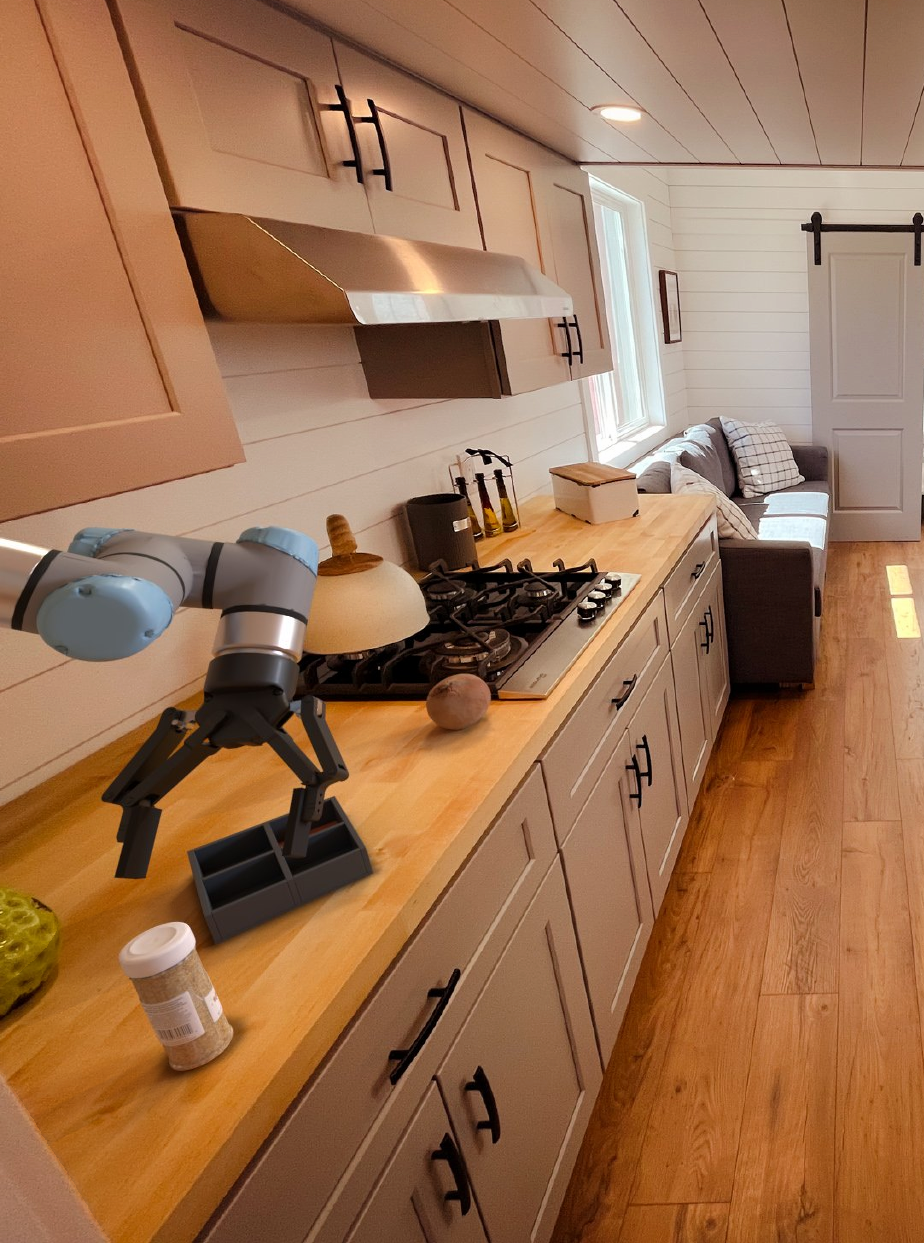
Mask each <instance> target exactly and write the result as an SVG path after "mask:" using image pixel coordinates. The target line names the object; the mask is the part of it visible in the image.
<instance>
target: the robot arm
mask: <svg viewBox="0 0 924 1243" xmlns="http://www.w3.org/2000/svg"><path fill="white" fill-rule="evenodd" d="M319 561H320V548H319V546H318V544H317V543H316V541H315V540H313V539H312V538H311V537H310V536H308V535H307V534H305V533H303V532H301V531H299V530H295V529H292V528H287V527H283V526H276V525H269V526H268V527H264V526H260V525H259V526H253V527H249V528H247V529H245V530H243V531H242V532H241V533H240V535H239V538H238V539H236V541H235V542H227V541H225V542H221V541H212V540H206V539H200V538H199V539H198V538H191V537H183V536H177V535H169V534H162V533H154V532H148V531H140V530H137V529H133V528H126V527H124V528H113V527H101V526H100V527H99V526H89V527H85V528H82V529H80V530H79V531H77V533H76V534H74V536H73V539H72V542H70V543H69V545H68V548H67V550H66V551H64V550H59V549H54V548H52V547H49V546H44V545H40V544H36V543H31V542H28V541H23V540H18V539H15V538H11V537H8V536H7V537H6V536H2V535H0V628H3V629H9V630H14V631H19V632H24V633H29V634H34V635H37V636H40V638H41V639H42V641H43V642H44V643H45V644H46V645H47V646H49V647H50V648H52V649H53V650H54V651H56V652H58V653H60V654H62V655H63V656H65V657H67V658H70V659H73V660H77V661H81V662H82V661H83V662H88V663H90V662H91V663H107V662H108V663H109V662H115V661H120V660H124V659H127V658H130V657H132V656H134V655H137V654H138V653H140V652H142V651H144V650H145V649H146V648H148V647H149V646H150V645H151V644H152V643H153V642H155V640H157V639H159V638H160V637H161V636H162V634H163V633H164V632H165V631H166V630H167V629H169V627H170V625H171V624H172V621H173V619H174V615H175V614H176V612H178V609H179V608H193V609H204V610H221V614H220V617H219V621H218V625H217V629H216V633H215V637H214V640H213V645H212V648H211V655H212V657H213V659H211V660H209V662H208V667H207V671H206V675H205V679H204V684H203V688H202V690H203V701H202V704H201V705H200V706H199V707H198V709H180V708H177V707H175V706H168V707H166V708H164V710H163V711H162V713H161V715H160V718H159V721H158V723H157V726H156V728H155V729H154V731H153V732H152V733H151V734H150V735H149V737H147V739H146V740H145V741H144V742H143V744H142V745H141V747H139V749H138V750H137V751H136V752H135V754H134V755H133V756H132V758H130V760H129V761H128V762H127V764H126V765H125V766H124V767H123V768H122V770H121V771H120V772H119V774H117V775H116V777H115V778H114V779H113V781H111V783H110V784H109V786H108V787H107V788H106V789H105V791H104V792H103V793H102V795H101V796H100V799H101V802H103V803H107V804H112V805H117V806H120V807H121V808H122V814H121V816H120V817H121V818H120V821H119V825H118V829H117V833H116V836H115V838H116V839H115V840H116V842H117V843H121V844H122V846H121V850H120V855H119V858H118V861H117V866H116V870H115V872H114V873H115V874H114V877H113V878H114V879H125V880H126V879H127V880H141V879H146V878H147V874H148V870H149V866H150V863H151V862H150V861H151V859H152V854H153V849H154V846H155V841H156V839H157V838H156V837H157V833H158V829H159V826H160V821H161V816H162V813H163V808H158V807H156V806H155V805H156V804H157V803H159V802H160V801H161V800H162V799H163V798H164V797H166V795H167V794H169V792H171V791H172V790H173V789H174V788H175V787H176V786H178V784H180V783H181V782H182V781H183V780H185V779H186V778H187V776H189V775H190V774H191V773H192V772H193V771H194V770H195V769H197V768H198V766H200V764H202V763H203V762H204V761H206V759H207V758H209V757H210V756H214V755H216V754H218V752H220V751H221V750H222V749H226V750H235V749H239V748H242V747H246V746H247V747H252V748H253V747H263V744H266V743H267V744H268V746H270V747H271V749H272V750H273V751H274V752H275V754H276V755H278V757H279V758H280V759H281V760H282V761H283V762H284V764H286V766H287V767H288V768H289V769H290V771H291V772H293V774H294V775H295V776H296V777H297V778H298V779H299V781H300V785H302V786H304V787H293V788H292V795H291V800H290V806H289V811H288V813H289V817H288V823H287V828H286V834H285V840H284V846H283V851H282V856H285V857H292V858H303V857H306V852H307V846H308V840H309V834H310V828H311V821H319V819H320V817H321V815H322V809H323V803H324V800H325V795H326V791H327V789H328V788H329V787H330V786H333V785H334V784H336V783H339V782H341V783H343V782H346V781H347V780H348V779H349V777H350V772H349V770H348V767H347V765H346V763H345V761H344V758H343V755H342V754H341V751H340V749H339V747H338V745H337V743H336V741H335V738H334V736H333V734H332V731H331V728H330V727H329V724H328V722H327V719H326V716H327V715H326V714H327V705H326V702H325V701H323V700H321V699H320V698H318V697H315V695H312V694H306V695H304V696H302V698H301V699H299V700H295V701H294V700H293V697H294V696H295V694H296V691H297V685H298V680H299V674H300V671H301V670H300V665H298V663H299V662H300V661H301V660H302V657H303V650H304V646H305V641H306V640H305V639H306V634H307V630H308V623H309V619H310V613H311V608H312V604H313V598H314V594H315V589H316V584H317V578H318V577H317V576H318V569H319V568H318V567H319ZM294 715H295V716H296V717H297V718H298V719H300V721H301V724H302V726H303V728H304V730H305V733H306V735H307V737H308V740H309V742H310V744H311V747H312V749H313V751H314V753H315V756H316V758H317V760H318V763H319V765H320V768H321V770H322V771H321V770H320V769H319V768H318V767H317V765H316V764H315V763H314V762H313V761H312V760H311V759H310V758H309V757H308V755H307V754H306V753H305V752H304V751H303V750H302V749H301V747H299V746H298V744H297V743H296V742H295V741H294V738H293V737H292V736H291V734H290V733H288V731H287V730H286V729H285V728H284V726H285V725H286V723H288V721H289V720H291V718H293V716H294ZM195 724H197V725H198V727H197V728H196V729H195V730H194V728H195V726H194V725H195ZM193 730H194V731H193ZM189 731H193V732H192V733H190V734H189V735H188V736H187V737H186V735H187V734H188V732H189ZM185 737H186V738H185ZM184 738H185V739H184ZM183 740H184V741H183ZM206 740H208V741H206ZM182 741H183V744H182V746H180V745H181V743H182ZM178 746H180V747H179V748H178ZM177 748H178V750H176V749H177ZM175 750H176V751H175ZM174 751H175V752H174Z"/></svg>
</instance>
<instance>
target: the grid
mask: <svg viewBox="0 0 924 1243" xmlns="http://www.w3.org/2000/svg"><path fill="white" fill-rule="evenodd" d="M341 805H342V804H340V802H339V800H338V798H337V797H336V795H333V796H329V797H328V798H324V803H323V809H322V815H321V817H320V819H319V821H311V828H310V834H309V840H308V846H307V852H306V857H303V858H292V857H285V856H282V851H283V846H284V840H285V834H286V828H287V823H288V817H289V812H288V813H285V814H281V815H280V816H276V817H275V818H272V819H269V820H266V821H264V822H262V823H258V824H256V825H253V826H251V827H248V828H245V829H243V830H239V831H237V832H235V833H232V834H229V835H226V836H224V837H221V838H219V839H216V840H213V841H211V842H207V843H205V844H203V845H201V846H197V847H195V848H193V849H189V850H187V851H186V854H187V857H188V862H189V865H190V868H191V869H190V870H191V873H192V877H193V881H194V885H195V889H196V892H197V895H198V899H199V902H200V906H201V910H202V914H203V918H204V920H205V923H206V925H207V928H208V930H209V933H210V935H211V938H212V940H213V942H214V945H216V946H217V945H218V944H221V943H223V942H226V941H227V940H229V939H232V938H233V937H236V936H238V935H240V934H243V933H245V932H247V931H250V930H252V929H254V928H256V927H258V926H261V925H262V924H265V923H267V922H269V921H272V920H273V919H276V918H279V917H280V916H282V915H284V914H287V913H289V912H292V911H294V910H296V909H298V908H300V907H302V906H304V905H306V904H308V903H311V902H313V901H315V900H318V899H320V898H322V897H324V896H326V895H328V894H331V893H334V892H335V891H337V890H339V889H341V888H344V887H346V886H349V885H350V884H353V883H355V882H357V881H359V880H362V879H363V878H365V877H368V876H370V875H372V874H374V870H373V867H372V863H371V860H370V857H369V853H368V850H367V847H366V845H365V843H364V842H363V840H362V839H361V837H360V836H359V834H358V832H357V830H356V828H355V827H354V825H353V824H352V822H351V820H350V819H349V816H348V815H347V813H346V812H345V809H344V808H343V806H341Z"/></svg>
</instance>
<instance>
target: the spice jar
mask: <svg viewBox="0 0 924 1243" xmlns="http://www.w3.org/2000/svg"><path fill="white" fill-rule="evenodd" d="M196 948H197V947H196V937H195V935H194V932H193V931H192V929H191V927H190V926H189V925H188V924H187V923H185V922H182V921H172V922H166V923H162V924H159V925H156V926H154V927H151V928H149V929H147V930H145V931H143V932H141V933H139V934H138V935H136V936H135V937H133V938H131V940H129V941H128V942H127V943H126V944H125V945H124V946H123V947H122V948H121V950H120V951H119V953H118V962H119V964H120V966H121V969H122V971H123V974H125V976H126V977H128V978H129V980H130V981H131V982H132V985H133V988H134V989H135V991H136V993H137V995H138V998H139V999H138V1000H139V1003H140V1004H141V1007H142V1009H143V1011H144V1014H145V1015H146V1017H147V1019H148V1022H149V1024H150V1025H151V1027H152V1029H153V1031H154V1034H155V1035H156V1038H157V1039H158V1042H159V1043H160V1044H162V1047H163V1049H164V1051H165V1053H166V1055H167V1057H168V1062H169V1067H170V1068H171V1069H173V1070H175V1071H177V1072H178V1071H179V1072H185V1071H189V1070H194V1069H196V1068H199V1067H202V1066H204V1065H205V1064H208V1063H209V1062H211V1061H213V1059H216V1058H217V1057H218V1056H220V1055H221V1054H222V1053H223V1052H224V1051H225V1050H226V1049H227V1048H228V1047H229V1045H230V1043H231V1041H232V1039H233V1037H234V1028H233V1026H232V1024H230V1023H229V1021H228V1019H227V1016H226V1015H225V1012H224V1010H223V1006H222V1003H221V1001H220V999H219V996H218V995H217V992H216V990H215V987H214V985H213V983H212V981H211V979H210V976H209V974H208V972H207V971H206V969H205V967H204V964H203V963H202V961H201V960H202V959H201V958H200V956H199V953H198V951H197V949H196Z"/></svg>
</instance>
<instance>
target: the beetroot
mask: <svg viewBox="0 0 924 1243" xmlns="http://www.w3.org/2000/svg"><path fill="white" fill-rule="evenodd" d="M491 701H492V694H491V690H490V687H489V686H488V684H487V682H485V681H484V680H483V679H481V677H479V676H477V675H475V674H471V673H458V674H453V675H451V676H447V677H446V678H443V679H442V680H440V681H439V682H438V683H437V684H436V685H434V686H433V687H432V689H431V690H430V691H429V693H428V695H427V697H426V701H425V702H426V703H425V708H426V712H427V715H428V717H429V718H430V720H432V722H433V723H434V724H436V725H438V726H439V727H441V728H443V729H447V730H453V731H458V730H465V729H466V728H468V727H470V726H473V725H475V724H476V723H477V722H478V721H480V720H481V719H482V718H483V717H484V716H485V714H486V713H487V711H488V709H489V707H490V704H491Z"/></svg>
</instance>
